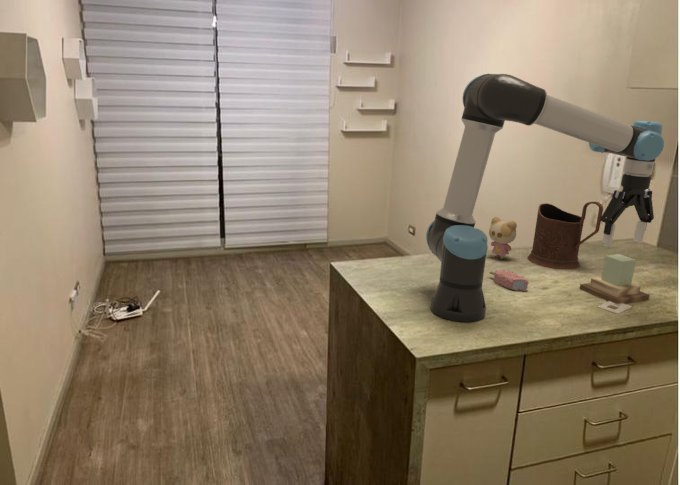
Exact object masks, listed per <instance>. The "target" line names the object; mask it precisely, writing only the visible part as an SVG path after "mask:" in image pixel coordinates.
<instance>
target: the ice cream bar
mask: <svg viewBox="0 0 680 485" xmlns="http://www.w3.org/2000/svg"><path fill="white" fill-rule="evenodd" d="M489 274H490V275H493V277H494V278H493V280H494V282H495V283H496V284H498V285H499V286H503V287H504V288H506V289H509V290H512V291H517V292H518V291H521V292H527V290H528V289H529V287H528V286H529V283H530V282H529V280H528V279H527V278H525V277H524V276H520V275H519V274H517V273H514V272H513V271H509V270H508V271H507V270H505V269H499V270H495V272H494V271H489Z"/></svg>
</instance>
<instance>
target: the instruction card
mask: <svg viewBox="0 0 680 485" xmlns="http://www.w3.org/2000/svg"><path fill="white" fill-rule="evenodd" d="M597 308H598V309H602V310H604V311H607V312H611V313H614V314H616V315H619V314H621V313H623V312H625V311H628V310H629V309H631V308H633V305H629V304H628V303H626V304H624V303H621V304H615V303H613V302H611V301H606V302H604V303H601V304H600V305H598V306H597Z"/></svg>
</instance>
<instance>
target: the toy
mask: <svg viewBox="0 0 680 485" xmlns="http://www.w3.org/2000/svg"><path fill="white" fill-rule="evenodd" d="M517 227H518V226H517V222H516V221H515V220H510V221H508V222H507V221H503V220H501V218H499V217H497V216H494V217H493V218H491V222H490V226H489V231H488V235H489V238H490V239H491V240H492V242H490V246H491V247H493V248H492V251H491V253H493V254H494V255H495V257H494V258H496V259H498V258H499V259H500V260H504V259H505V255H509V253H510V252H511V251H512V247H511V245H510V244H511V243H512V242H513V241H515V239H516V237H517Z"/></svg>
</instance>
